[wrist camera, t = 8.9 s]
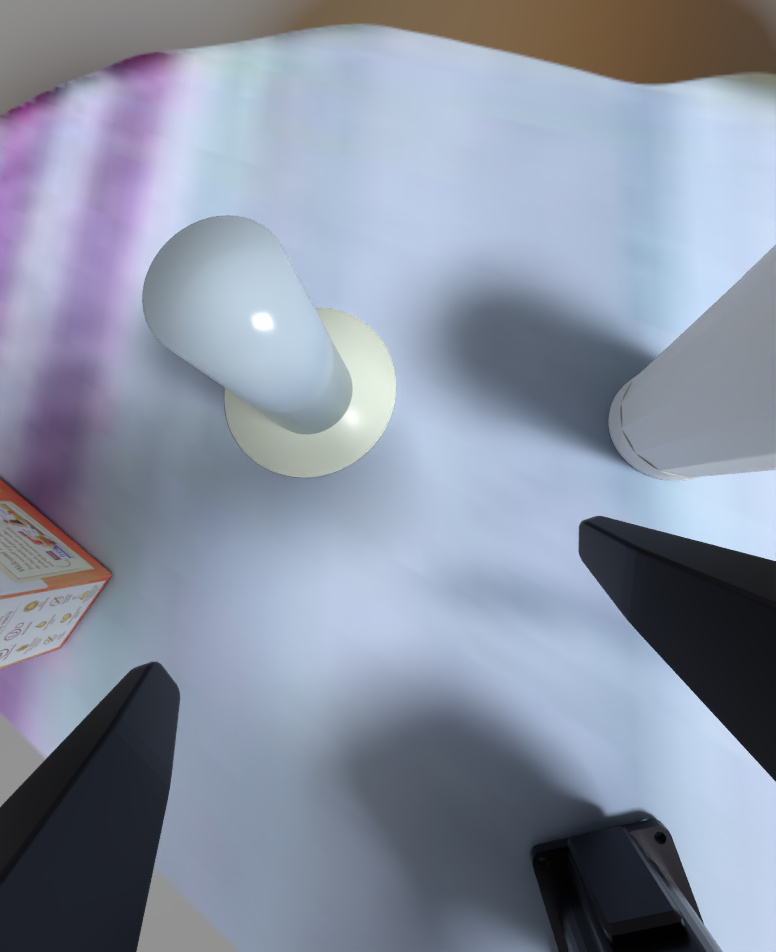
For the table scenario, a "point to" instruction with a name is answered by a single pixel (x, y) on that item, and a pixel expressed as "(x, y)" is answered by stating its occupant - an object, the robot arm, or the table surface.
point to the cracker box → (40, 581)
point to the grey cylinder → (247, 322)
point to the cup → (708, 391)
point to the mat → (350, 432)
